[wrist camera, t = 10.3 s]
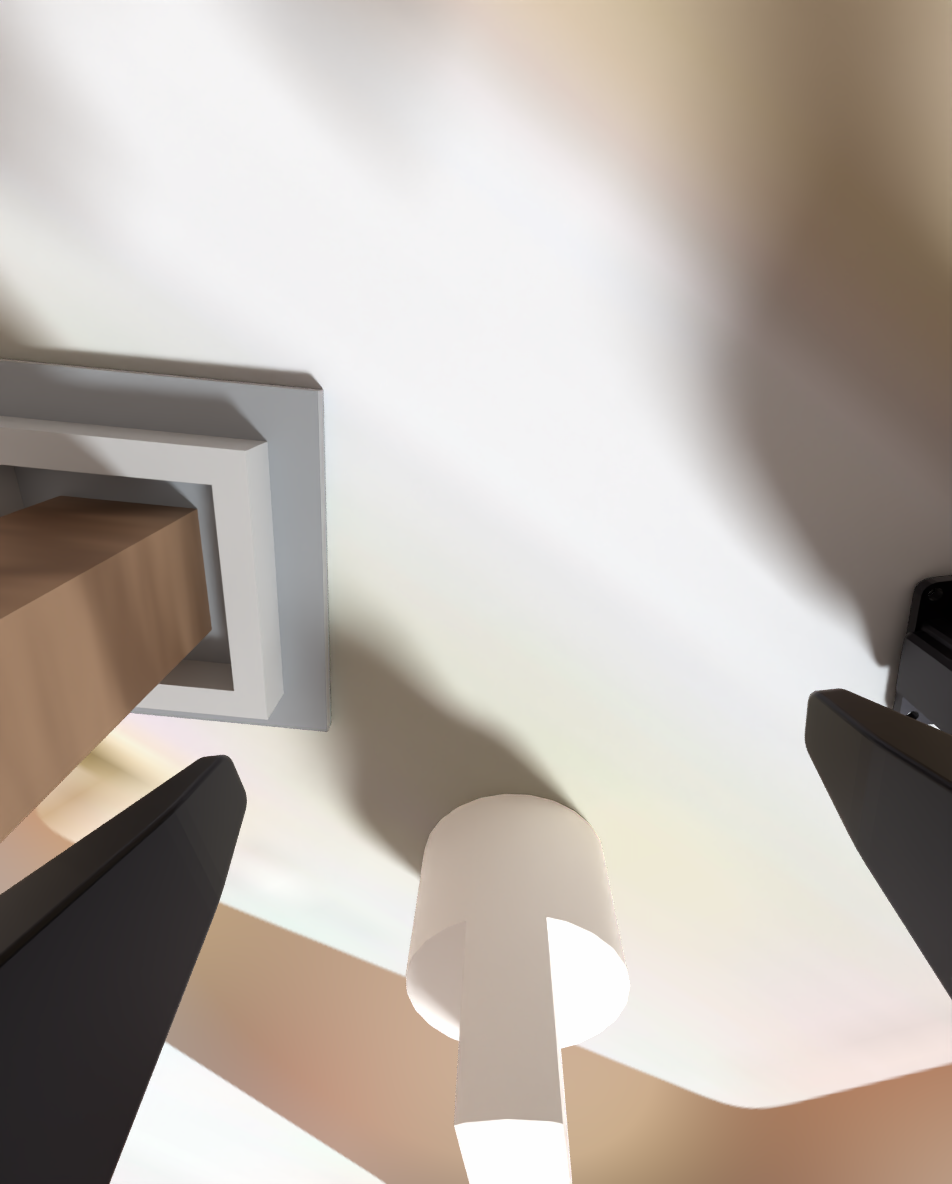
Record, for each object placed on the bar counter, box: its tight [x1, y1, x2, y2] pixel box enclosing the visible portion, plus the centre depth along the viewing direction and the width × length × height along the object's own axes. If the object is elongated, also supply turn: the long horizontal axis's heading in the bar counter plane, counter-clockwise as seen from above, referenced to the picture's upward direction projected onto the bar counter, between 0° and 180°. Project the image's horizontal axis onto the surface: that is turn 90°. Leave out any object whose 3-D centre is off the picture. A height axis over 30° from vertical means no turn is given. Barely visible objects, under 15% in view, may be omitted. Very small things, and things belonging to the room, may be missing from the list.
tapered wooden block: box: [0, 496, 212, 843], centre depth 16 cm, size 5×5×12 cm
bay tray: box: [0, 359, 331, 732], centre depth 21 cm, size 14×14×2 cm
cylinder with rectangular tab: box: [406, 794, 630, 1184], centre depth 23 cm, size 9×9×12 cm
